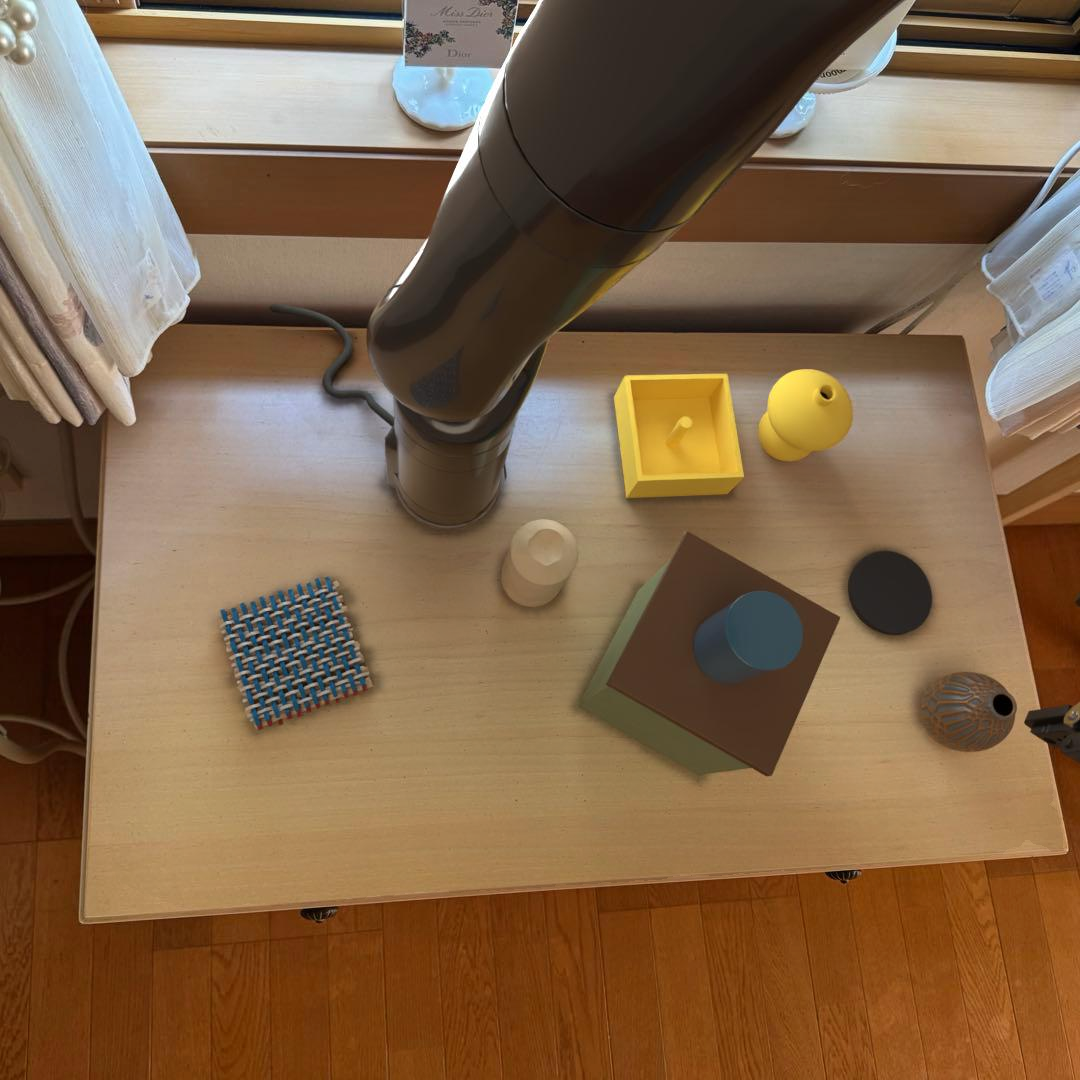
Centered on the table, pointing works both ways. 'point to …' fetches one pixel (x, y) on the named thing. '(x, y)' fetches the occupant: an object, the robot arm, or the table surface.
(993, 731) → the vase
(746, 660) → the blue cylinder
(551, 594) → the candle
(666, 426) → the bath set
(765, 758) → the stand
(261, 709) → the woven mat
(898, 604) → the coaster
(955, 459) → the table surface
